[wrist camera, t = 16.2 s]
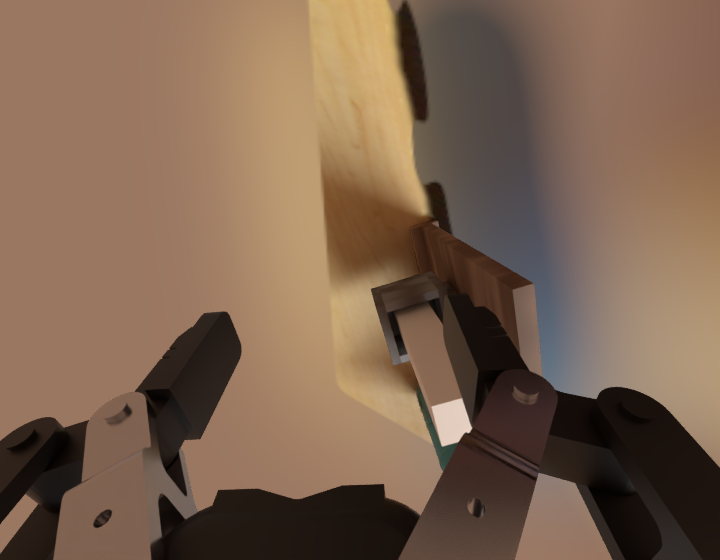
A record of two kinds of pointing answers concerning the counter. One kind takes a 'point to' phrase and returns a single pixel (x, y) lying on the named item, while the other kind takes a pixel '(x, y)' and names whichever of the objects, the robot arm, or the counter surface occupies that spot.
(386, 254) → the counter surface
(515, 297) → the cup bracket
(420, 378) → the beige tall block
